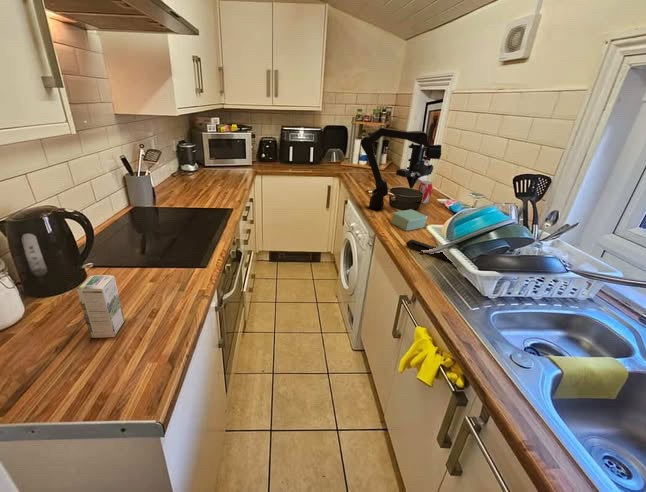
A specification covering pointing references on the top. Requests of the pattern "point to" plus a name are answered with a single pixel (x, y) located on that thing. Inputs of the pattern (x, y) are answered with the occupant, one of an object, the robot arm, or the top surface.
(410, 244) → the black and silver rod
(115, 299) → the syrup box
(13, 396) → the top surface
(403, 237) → the top surface
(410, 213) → the lid
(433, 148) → the robot arm
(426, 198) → the soda can
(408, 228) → the keepsake box
